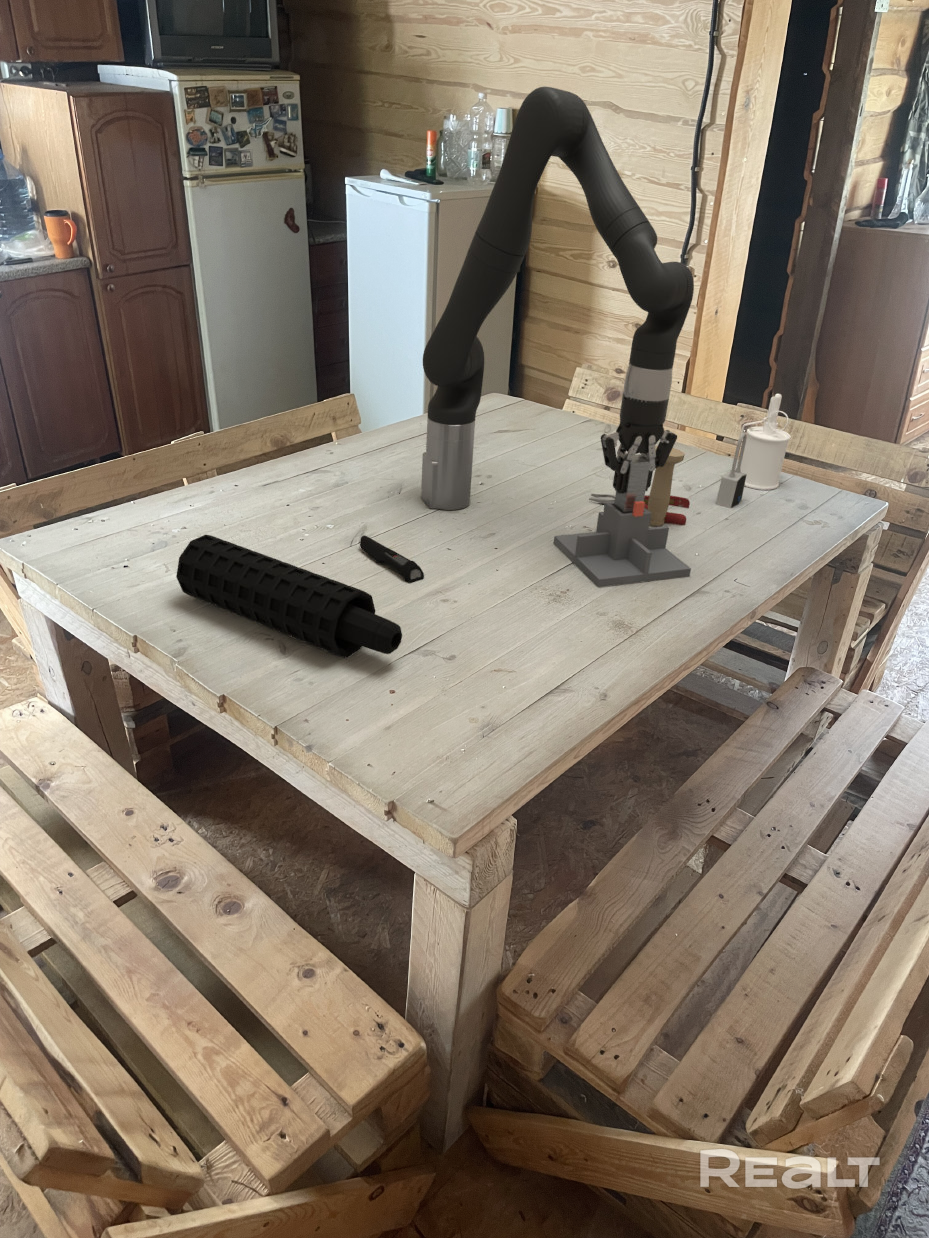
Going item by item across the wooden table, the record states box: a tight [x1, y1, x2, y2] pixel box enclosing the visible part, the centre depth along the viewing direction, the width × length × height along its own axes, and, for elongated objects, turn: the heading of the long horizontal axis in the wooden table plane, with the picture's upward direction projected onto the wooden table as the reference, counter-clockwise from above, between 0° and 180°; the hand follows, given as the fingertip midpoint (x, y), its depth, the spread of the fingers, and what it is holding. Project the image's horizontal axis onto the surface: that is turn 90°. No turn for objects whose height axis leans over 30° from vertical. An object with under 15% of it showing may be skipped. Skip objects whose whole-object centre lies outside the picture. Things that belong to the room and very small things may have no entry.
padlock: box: [715, 432, 747, 509], centre depth 187 cm, size 7×4×15 cm, turn 145°
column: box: [614, 453, 650, 514], centre depth 157 cm, size 4×4×17 cm
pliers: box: [588, 493, 691, 526], centre depth 184 cm, size 12×20×3 cm, turn 73°
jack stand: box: [553, 501, 692, 588], centre depth 159 cm, size 18×18×12 cm
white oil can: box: [739, 393, 792, 491], centre depth 197 cm, size 10×9×20 cm
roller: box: [175, 534, 403, 659], centre depth 132 cm, size 38×10×10 cm, turn 58°
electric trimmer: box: [359, 535, 425, 584], centre depth 154 cm, size 4×16×3 cm, turn 40°
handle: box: [648, 445, 685, 527], centre depth 174 cm, size 5×6×15 cm
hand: (630, 490), depth 156 cm, fingers open, 4 cm apart
